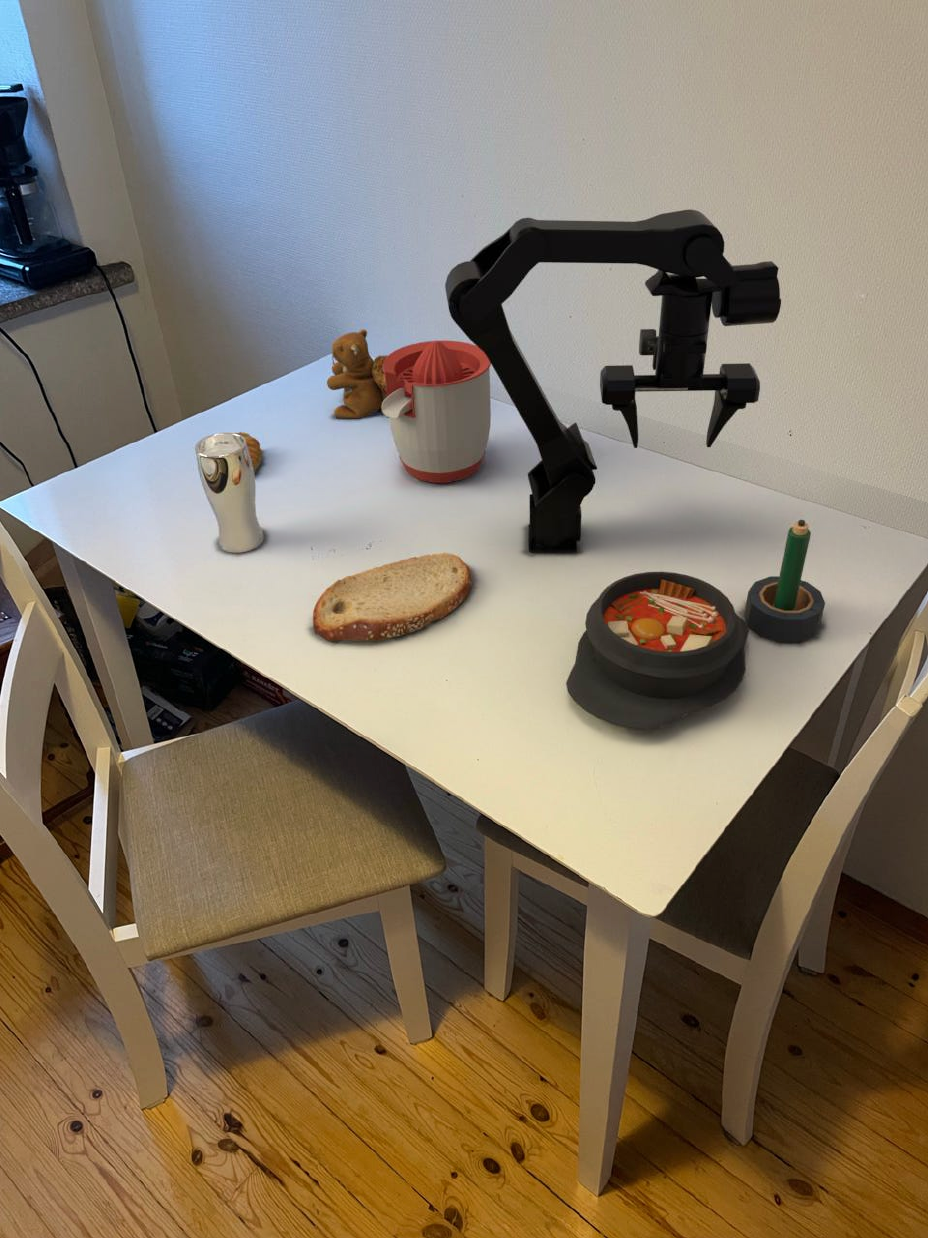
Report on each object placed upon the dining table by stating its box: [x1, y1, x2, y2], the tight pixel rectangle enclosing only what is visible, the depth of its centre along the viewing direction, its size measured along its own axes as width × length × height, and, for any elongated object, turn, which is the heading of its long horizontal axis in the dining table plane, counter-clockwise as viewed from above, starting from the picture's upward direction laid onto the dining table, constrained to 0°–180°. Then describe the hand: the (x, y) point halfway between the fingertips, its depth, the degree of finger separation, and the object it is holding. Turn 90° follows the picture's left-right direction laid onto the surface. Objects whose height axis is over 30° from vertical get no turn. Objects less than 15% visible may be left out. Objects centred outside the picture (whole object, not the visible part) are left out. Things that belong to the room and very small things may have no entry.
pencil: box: [773, 519, 812, 611], centre depth 110 cm, size 2×2×14 cm
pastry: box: [235, 431, 263, 474], centre depth 148 cm, size 9×7×4 cm
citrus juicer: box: [381, 340, 492, 485], centre depth 140 cm, size 16×17×20 cm
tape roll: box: [744, 575, 826, 644], centre depth 113 cm, size 8×8×4 cm
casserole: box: [565, 571, 750, 731], centre depth 106 cm, size 25×19×8 cm
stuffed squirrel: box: [326, 328, 388, 419], centre depth 160 cm, size 10×14×13 cm
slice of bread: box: [312, 552, 473, 643], centre depth 119 cm, size 18×18×4 cm
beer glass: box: [194, 432, 265, 554], centre depth 128 cm, size 7×7×15 cm
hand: (671, 446), depth 122 cm, fingers open, 9 cm apart
